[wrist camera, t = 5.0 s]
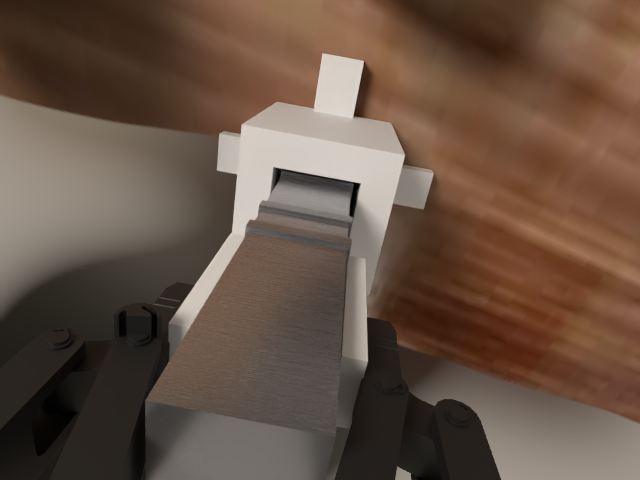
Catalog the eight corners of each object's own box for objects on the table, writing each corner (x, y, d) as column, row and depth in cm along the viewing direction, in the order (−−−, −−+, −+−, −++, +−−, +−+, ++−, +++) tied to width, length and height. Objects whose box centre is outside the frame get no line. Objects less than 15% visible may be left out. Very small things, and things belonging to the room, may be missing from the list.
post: (295, 147, 31) (138, 393, 9) (354, 158, 31) (343, 433, 9) (287, 203, 32) (140, 523, 11) (343, 213, 32) (311, 556, 11)
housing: (230, 36, 32) (170, 30, 21) (457, 78, 31) (503, 92, 21) (215, 241, 39) (165, 309, 29) (401, 276, 38) (415, 356, 28)
